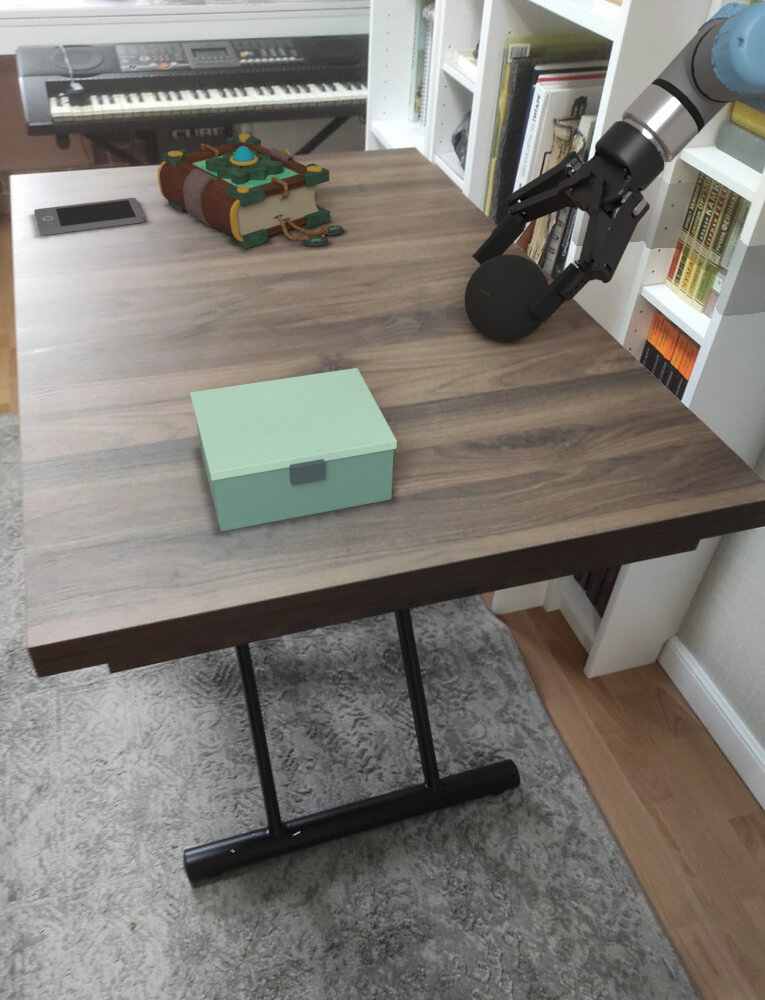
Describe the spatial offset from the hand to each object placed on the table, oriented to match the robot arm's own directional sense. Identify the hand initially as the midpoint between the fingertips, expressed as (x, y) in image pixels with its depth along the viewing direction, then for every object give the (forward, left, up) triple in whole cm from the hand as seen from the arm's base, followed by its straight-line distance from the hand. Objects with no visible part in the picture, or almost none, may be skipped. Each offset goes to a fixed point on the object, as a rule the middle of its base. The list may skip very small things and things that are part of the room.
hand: (506, 288), depth 97 cm
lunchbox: (+2, +36, -6) cm, 36 cm away
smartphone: (+65, +10, -6) cm, 66 cm away
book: (+46, -7, -6) cm, 47 cm away
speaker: (0, 0, -6) cm, 7 cm away
